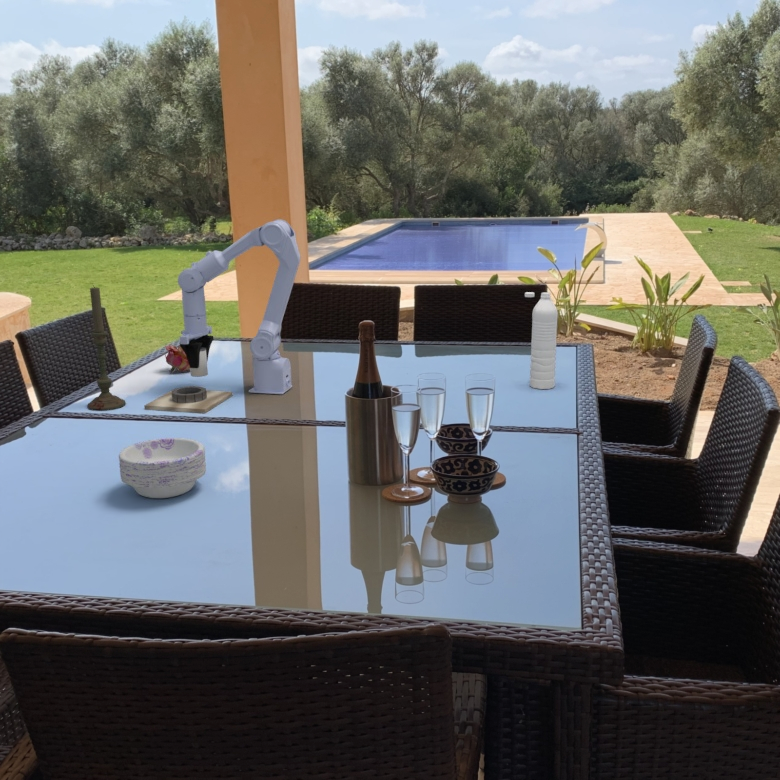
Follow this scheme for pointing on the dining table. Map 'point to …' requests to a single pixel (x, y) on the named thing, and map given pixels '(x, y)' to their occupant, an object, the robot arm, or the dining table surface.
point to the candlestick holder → (101, 360)
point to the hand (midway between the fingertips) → (198, 365)
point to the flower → (177, 359)
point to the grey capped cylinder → (201, 365)
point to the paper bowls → (162, 466)
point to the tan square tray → (189, 400)
